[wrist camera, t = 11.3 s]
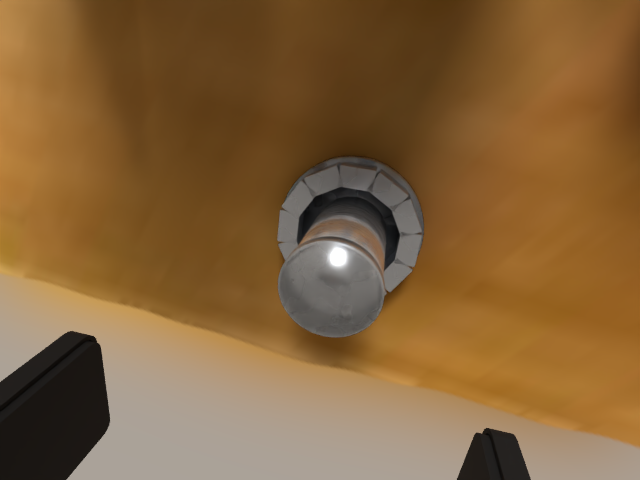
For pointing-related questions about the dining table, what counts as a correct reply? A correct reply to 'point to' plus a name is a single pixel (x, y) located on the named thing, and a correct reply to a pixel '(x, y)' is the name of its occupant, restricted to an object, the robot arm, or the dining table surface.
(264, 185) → the dining table surface
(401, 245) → the duct flange
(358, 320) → the silver metal cylinder
